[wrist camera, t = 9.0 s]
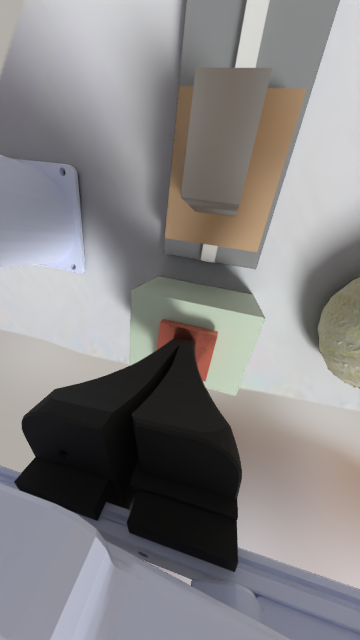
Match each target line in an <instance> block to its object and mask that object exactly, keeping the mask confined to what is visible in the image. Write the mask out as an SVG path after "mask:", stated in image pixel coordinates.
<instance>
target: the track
mask: <svg viewBox="0 0 360 640" xmlns="http://www.w3.org/2000/svg"><path fill="white" fill-rule="evenodd" d="M339 1H340V0H187V2H186V13H185V23H184V34H183V45H182V56H181V67H180V78H179V86H194V80H195V72H196V67H201V68H272V71H271V75H270V79H269V84H268V88H296V89H307V90H306V93H305V96H304V100H303V103H302V106H301V110H300V113H299V116H298V120H297V123H296V126H295V129H294V133H293V136H292V139H291V143H290V146H289V149H288V153H287V156H286V159H285V162H284V166H283V169H282V172H281V176H280V179H279V182H278V186H277V189H276V192H275V196H274V199H273V202H272V205H271V209H270V212H269V215H268V219H267V222H266V225H265V229H264V232H263V235H262V238H261V242H260V245H259V248H258V252H252V251H245V250H239V249H233V248H226V247H220V246H214V245H207V244H201V243H194V242H188V241H182V240H175V239H169V238H165V240H164V250H163V253H164V254H170V255H176V256H181V257H187V258H193V259H199V260H201V261H207V262H213V263H214V262H216V263H222V264H228V265H234V266H240V267H245V268H251V269H256V268H257V264H258V261H259V258H260V255H261V252H262V248H263V245H264V242H265V239H266V236H267V232H268V229H269V226H270V223H271V220H272V216H273V213H274V210H275V207H276V204H277V200H278V197H279V194H280V191H281V187H282V184H283V181H284V178H285V175H286V171H287V168H288V165H289V162H290V159H291V155H292V152H293V149H294V146H295V143H296V139H297V136H298V133H299V130H300V127H301V123H302V120H303V117H304V114H305V110H306V107H307V104H308V101H309V98H310V94H311V91H312V88H313V85H314V82H315V78H316V75H317V72H318V69H319V66H320V62H321V59H322V56H323V53H324V50H325V46H326V43H327V40H328V37H329V33H330V30H331V27H332V24H333V21H334V17H335V14H336V11H337V8H338V5H339ZM178 89H179V88H178ZM177 100H178V99H177ZM176 111H177V110H176ZM175 122H176V121H175ZM174 133H175V132H174ZM173 143H174V142H173ZM172 154H173V153H172ZM171 165H172V164H171ZM170 176H171V175H170ZM169 187H170V186H169ZM168 197H169V196H168ZM167 208H168V207H167ZM166 219H167V218H166ZM165 230H166V229H165Z"/></svg>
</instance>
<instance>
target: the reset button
mask: <svg viewBox="0 0 360 640" xmlns="http://www.w3.org/2000/svg"><path fill="white" fill-rule="evenodd" d="M217 336H218V331H215V330H210V329H206V328H202V327H197V326H193V325H188V324H184V323H180V322H175V321H171V320H167V319H162V320H161V322H160V326H159V336H158V346H157V350H158V349H159V348H161V347H162V346H164V345H165V344H166V343H168V342H169V341H171V340H172V339H174V338H179V339H188V340H194V341H195V342H196V349H195V357H196V362H197V366H198V370H199V373H200V375H201V378H202V381H204V382H206V378H207V374H208V371H209V367H210V363H211V359H212V355H213V352H214V348H215V344H216V340H217Z"/></svg>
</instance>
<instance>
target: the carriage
mask: <svg viewBox="0 0 360 640" xmlns="http://www.w3.org/2000/svg"><path fill="white" fill-rule="evenodd" d="M271 71H272V68H201V67H196V72H195V80H194V86H179V89H178V100H177V111H176V122H175V133H174V143H173V154H172V165H171V176H170V187H169V197H168V208H167V219H166V230H165V238H169V239H175V240H182V241H188V242H194V243H201V244H207V245H214V246H220V247H226V248H233V249H239V250H245V251H252V252H258V248H259V245H260V242H261V238H262V235H263V232H264V229H265V225H266V222H267V219H268V215H269V212H270V209H271V205H272V202H273V199H274V196H275V192H276V189H277V186H278V182H279V179H280V176H281V172H282V169H283V166H284V162H285V159H286V156H287V153H288V149H289V146H290V143H291V139H292V136H293V133H294V129H295V126H296V123H297V120H298V116H299V113H300V110H301V106H302V103H303V100H304V96H305V93H306V90H307V89H296V88H268V84H269V79H270V75H271Z"/></svg>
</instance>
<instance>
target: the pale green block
mask: <svg viewBox="0 0 360 640" xmlns="http://www.w3.org/2000/svg"><path fill="white" fill-rule="evenodd" d="M162 319H167V320H171V321H175V322H180V323H184V324H188V325H193V326H197V327H202V328H206V329H210V330H215V331H218V336H217V340H216V344H215V348H214V352H213V355H212V359H211V363H210V367H209V371H208V374H207V378H206V382H204V381H203V383H204V385H205V387H206V388H209V389H212V390H216V391H219V392H223V393H227V394H230V395H234V396H236V394H237V392H238V389H239V386H240V384H241V381H242V378H243V376H244V373H245V370H246V368H247V365H248V362H249V360H250V357H251V355H252V352H253V349H254V347H255V344H256V341H257V339H258V336H259V333H260V331H261V328H262V325H263V323H264V320H265V317H264V315H263V313H262V311H261V309H260V307H259V305H258V303H257V301H256V299H255V297H254V295H253V294H248V293H243V292H238V291H232V290H227V289H222V288H217V287H212V286H207V285H201V284H196V283H191V282H186V281H181V280H175V279H170V278H165V277H160V276H158V277H156V278H154V279H152V280H150V281H148V282H146V283H144V284H142V285H140V286H138V287H136V288H134V289H132V290H131V319H130V364H129V366H130V365H132V364H134V363H136V362H138V361H140V360H142V359H144V358H145V357H147V356H148V355H150V354H152V353H153V352H155V351H156V350H157V346H158V336H159V326H160V322H161V320H162Z"/></svg>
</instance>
